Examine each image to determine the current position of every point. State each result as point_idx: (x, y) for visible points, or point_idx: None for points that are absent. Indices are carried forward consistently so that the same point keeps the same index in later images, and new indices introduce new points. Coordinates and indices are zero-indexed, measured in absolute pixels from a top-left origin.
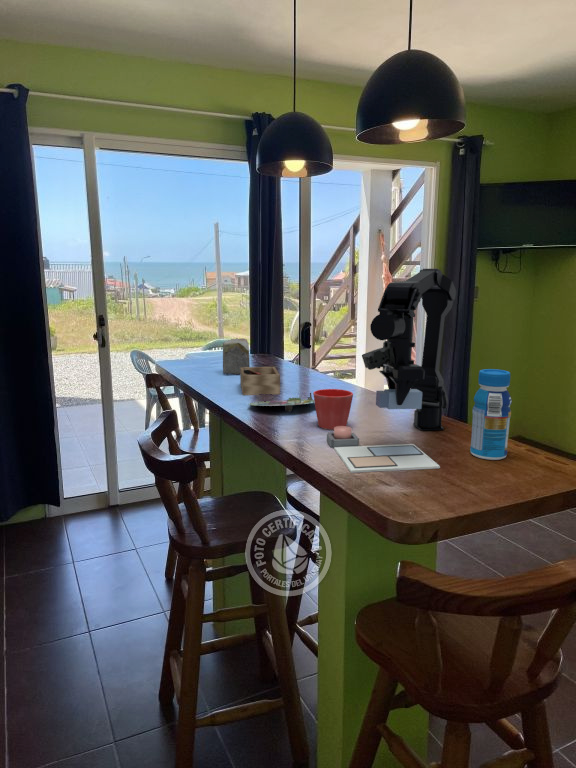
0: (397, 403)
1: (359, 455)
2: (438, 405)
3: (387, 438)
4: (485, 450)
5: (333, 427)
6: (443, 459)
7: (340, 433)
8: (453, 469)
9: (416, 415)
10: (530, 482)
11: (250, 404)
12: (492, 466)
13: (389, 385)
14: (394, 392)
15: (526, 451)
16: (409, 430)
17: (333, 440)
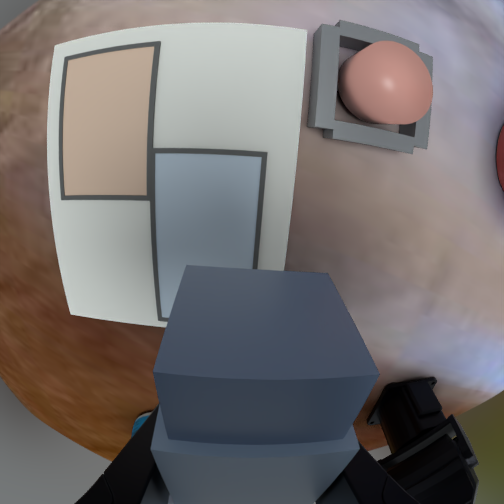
0: (159, 403)
1: (181, 92)
2: (393, 462)
3: (375, 280)
4: (135, 430)
5: (502, 141)
6: (139, 351)
7: (356, 55)
8: (71, 334)
9: (425, 403)
10: (41, 399)
11: None
12: (102, 403)
13: (358, 501)
14: (162, 472)
15: None
16: (407, 360)
17: (331, 26)
